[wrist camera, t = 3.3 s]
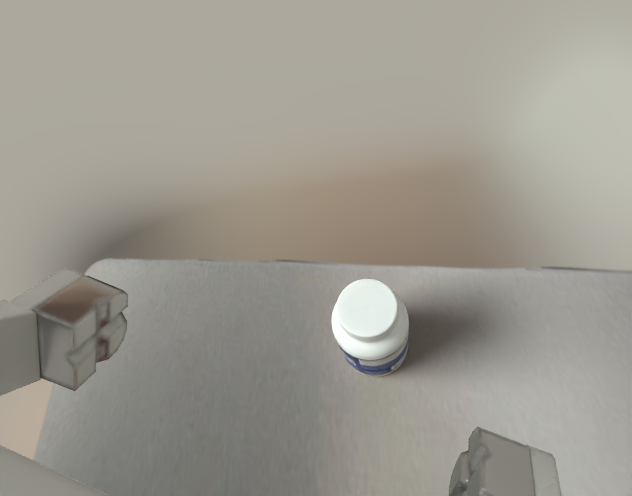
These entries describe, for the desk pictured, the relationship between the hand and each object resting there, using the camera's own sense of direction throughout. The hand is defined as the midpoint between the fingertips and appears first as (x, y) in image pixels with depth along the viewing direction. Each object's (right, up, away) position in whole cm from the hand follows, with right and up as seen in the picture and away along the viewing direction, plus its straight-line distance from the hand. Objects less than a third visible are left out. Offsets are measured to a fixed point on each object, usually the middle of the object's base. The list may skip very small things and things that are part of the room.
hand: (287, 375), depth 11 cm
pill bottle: (+5, -5, +30) cm, 31 cm away
